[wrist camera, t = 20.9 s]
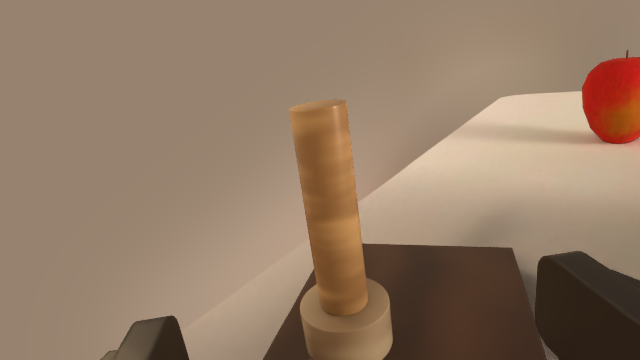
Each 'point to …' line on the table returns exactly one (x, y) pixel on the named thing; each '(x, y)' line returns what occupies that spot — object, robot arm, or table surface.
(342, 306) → the wooden peg stand
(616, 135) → the apple
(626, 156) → the table surface
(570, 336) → the robot arm
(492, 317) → the board
